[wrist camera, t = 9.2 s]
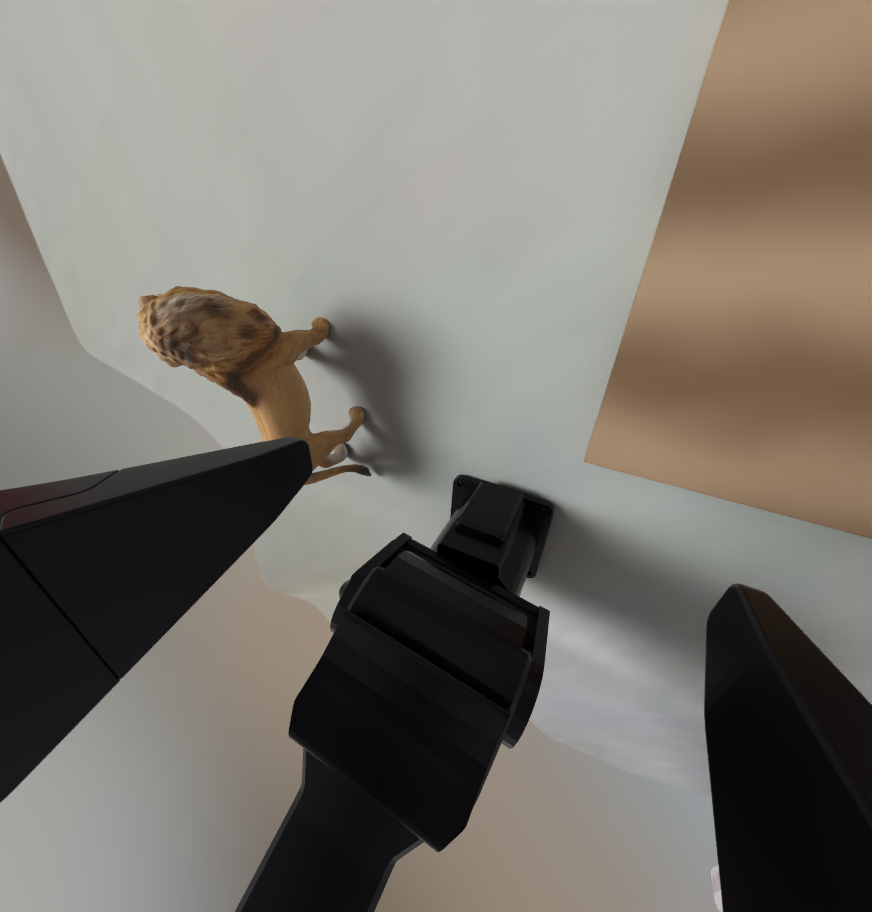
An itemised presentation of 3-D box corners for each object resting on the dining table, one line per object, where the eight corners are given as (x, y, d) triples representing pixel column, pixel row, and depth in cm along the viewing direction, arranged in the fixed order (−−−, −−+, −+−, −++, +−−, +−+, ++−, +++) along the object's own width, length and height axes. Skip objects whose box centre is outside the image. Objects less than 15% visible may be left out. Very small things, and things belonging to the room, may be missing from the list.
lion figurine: (252, 294, 25) (102, 317, 18) (298, 256, 22) (139, 268, 15) (352, 476, 29) (263, 551, 22) (402, 466, 26) (316, 549, 19)
